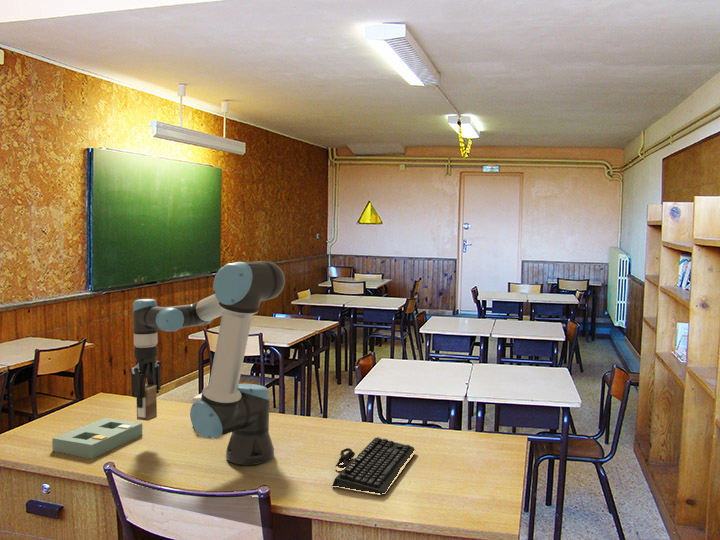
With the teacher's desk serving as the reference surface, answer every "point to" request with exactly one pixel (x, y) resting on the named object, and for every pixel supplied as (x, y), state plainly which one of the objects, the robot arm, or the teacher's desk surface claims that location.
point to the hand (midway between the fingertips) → (146, 414)
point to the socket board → (94, 445)
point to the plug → (149, 403)
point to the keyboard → (373, 466)
